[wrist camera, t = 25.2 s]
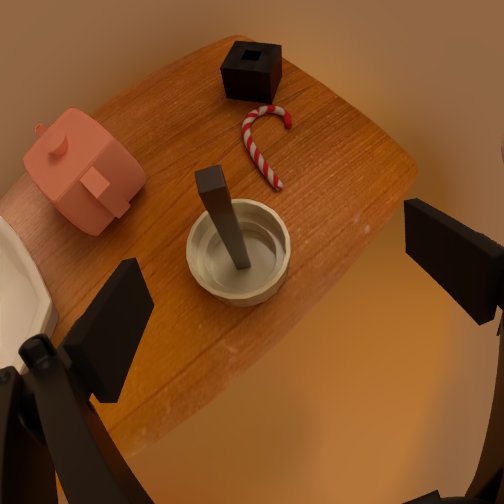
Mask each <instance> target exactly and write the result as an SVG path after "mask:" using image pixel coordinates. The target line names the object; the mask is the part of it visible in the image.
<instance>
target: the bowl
mask: <svg viewBox="0 0 504 504" xmlns="http://www.w3.org/2000/svg"><path fill="white" fill-rule="evenodd" d="M58 318H59V315H58V313H57V310H56V308H55V306H54V304H53V302H52V299H51V296H50V294H49V292H48V290H47V287H46V285H45V283H44V280H43V278H42V276H41V273H40V271H39V268H38V267H37V265H36V263H35V262H34V260H33V258H32V257H31V255H30V253H29V252H28V250H27V248H26V246H25V244H24V243H23V241H22V239H21V237H20V236H19V235H18V234H17V233H16V232H15V231H14V230H13V229H12V227H11V226H10V225H9V224H8V223H7V222H6V220H5V219H4V218H3V217H2V216H0V369H2V368H5V367H7V366H14V367H15V368H16V369H17V371H18V372H19V374H20V375H23V374H26V373H27V372H28V371H29V369H28V368H27V366H26V365H25V363H24V362H23V360H22V359H21V357H20V355H19V354H18V350H19V348H20V346H21V345H22V344H23V343H24V342H25V341H26V340H27V339H29V338H30V337H32V336H34V335H36V334H41V333H43V334H46V335H47V336H48V338H49V339H50V338H51V336H52V334H53V332H54V329H55V327H56V324H57V321H58Z"/></svg>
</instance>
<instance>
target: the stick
mask: <svg viewBox="0 0 504 504" xmlns="http://www.w3.org/2000/svg"><path fill="white" fill-rule="evenodd" d="M195 178H196V183H197V188H198V193H199V196H200V198H201V200H202V202H203V204H204V206H205V208H206V210H207V212H208V214H209V216H210V218H211V220H212V222H213V223H214V225H215V227H216V229H217V231H218V233H219V235H220V237H221V239H222V241H223V243H224V245H225V247H226V249H227V251H228V253H229V255H230V257H231V259H232V261H233V263H234V265H235V267H236V269H237V270H241V269H244V268H248V267H251V262H250V258H249V254H248V251H247V248H246V245H245V241H244V238H243V235H242V232H241V229H240V225H239V222H238V219H237V216H236V213H235V209H234V206H233V203H232V200H231V197H230V193H229V190H228V187H227V184H226V181H225V177H224V174H223V171H222V168H221V165H216V166H212V167H209V168H205V169H202V170H198V171H195Z"/></svg>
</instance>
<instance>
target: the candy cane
mask: <svg viewBox="0 0 504 504" xmlns="http://www.w3.org/2000/svg"><path fill="white" fill-rule="evenodd" d="M267 113H275V114H278V115H280V116H282V117H283V118H284V120H285V126H286V127H287V128H291V127H292V119H291V116H290V114H289V113H288V112H287V111H286V110H284V109H283V108H280V107H277V106H273V105H267V106H262V107H259V108H256V109H254V110H253V111H251V112H250V113H249V114H248V115H247V116H246V117H245V119H244V121H243V124H242V136H243V140H244V143H245V146H246V148H247V150H248V152H249V153H250V155H251V157H252V158H253V160H254V162H255V163H256V165H257V166H258V168H259V169H260V170H261V172H262V173H263V175H264V176H265V177H266V178H267V180H268V181H269V182H270V184H271V185H272V186H273V187H274V188H275V189H276V190H281V189H282V188H283V183H282V182H281V181H280V179H279V178H278V177H277V176H276V174H275V173H274V172H273V171H272V169H271V168H270V167H269V165H268V164H267V163H266V161H265V160H264V158H263V157H262V155H261V154H260V152H259V151H258V149H257V147H256V146H255V144H254V142H253V140H252V137H251V133H250V127H251V123H252V122H253V120H254V119H255V118H257V117H258V116H260V115H263V114H267Z"/></svg>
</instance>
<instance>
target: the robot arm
mask: <svg viewBox="0 0 504 504" xmlns="http://www.w3.org/2000/svg"><path fill="white" fill-rule="evenodd" d="M404 212H405V242H406V253H407V254H408V255H409V256H410V257H411V258H413V260H414V261H416V262H417V263H418V264H419V265H420V266H421V267H422V268H423V269H424V270H425V271H426V272H427V273H428V274H429V275H430V276H431V277H432V278H433V279H434V280H435V281H437V283H438V284H440V285H441V286H442V287H443V288H444V289H445V290H446V291H447V292H448V293H449V294H450V295H451V296H452V298H454V300H455V301H456V302H457V303H458V304H459V305H461V307H462V308H463V309H464V310H465V311H466V312H467V313H468V314H469V315H470V316H471V317H472V318H473V319H474V320H475V322H476V323H477V324H478V325H482V324H484V323H487V322H489V321H491V320H493V319H494V317H495V312H496V308H497V305H498V306H499V307H500V308H501V309H502V310H503V313H502V316H501V320H500V324H499V328H498V332H497V336H499V334H500V345H499V357H498V368H497V377H496V384H495V391H494V397H493V403H492V409H491V414H490V419H489V424H488V429H487V433H486V438H485V442H484V446H483V450H482V453H481V457H480V461H479V464H478V468H477V471H476V474H475V476H474V479H473V481H472V483H471V485H470V487H469V488H468V490H467V492H466V494H465V496H464V497H446V498H440V495H439V492H438V490H435V491H433V492H431V493H428V494H426V495H424V496H421V497H418V498H416V499H413V500H411V501H408V502H405V503H403V504H504V247H503V246H501V245H499V244H497V243H496V242H495V241H493V240H491V239H490V238H489V237H487V236H485V235H484V234H481V233H479V232H475V231H474V230H472V229H470V228H469V227H467V226H465V225H464V224H462V223H460V222H459V221H457V220H455V219H454V218H452V217H450V216H448V215H447V214H445V213H443V212H441V211H439V210H437V209H436V208H434V207H432V206H430V205H429V204H427V203H425V202H423V201H421V200H419V199H417V198H416V199H410V200H405V201H404ZM153 308H154V303H153V301H152V298H151V296H150V293H149V291H148V288H147V286H146V283H145V281H144V278H143V276H142V273H141V270H140V268H139V265H138V262H137V260H136V257H135V258H131V259H127V260H122V261H121V263H120V264H119V265H118V267H117V268H116V269H115V271H114V272H113V273H112V275H111V276H110V277H109V279H108V280H107V281H106V283H105V284H104V286H103V287H102V288H101V290H100V291H99V292H98V294H97V295H96V297H95V298H94V299H93V301H92V302H91V304H90V305H89V307H88V308H87V309H86V311H85V312H84V314H83V315H82V316H81V317H80V318H79V319H78V320H76V321H75V323H74V324H73V326H72V327H71V330H69V332H68V333H67V336H65V338H64V339H63V341H62V342H61V344H60V345H59V347H58V348H57V350H55V348H54V346H53V345H52V343H51V341H50V340H49V338H48V336H47V335H46V334H43V333H41V334H36V335H34V336H32V337H30V338H29V339H27V340H26V341H25V342H24V343H23V344H22V345H21V346H20V348H19V350H18V354H19V355H20V357H21V359H22V360H23V362H24V363H25V365H26V366H27V368H28V369H29V371H30V373H26V374H23V375H20V374H19V372H18V371H17V369H16V368H15V367H14V366H7V367H5V368H2V369H0V504H58V496H57V487H56V477H55V470H56V473H57V475H58V478H59V481H60V483H61V486H62V489H63V491H64V493H65V496H66V498H67V501H68V503H69V504H154V502H153V501H152V500H151V498H150V497H149V496H148V494H147V493H146V491H145V490H144V489H143V487H142V486H141V484H140V483H139V481H138V480H137V478H136V477H135V475H134V474H133V473H132V471H131V469H130V468H129V467H128V465H127V463H126V462H125V460H124V459H123V457H122V455H121V454H120V452H119V451H118V449H117V447H116V446H115V444H114V442H113V440H112V439H111V437H110V435H109V434H108V432H107V430H106V428H105V426H104V425H103V423H102V421H101V419H100V417H99V415H98V413H97V412H96V410H95V408H94V406H93V405H92V403H91V402H90V401H89V398H90V396H91V394H92V393H93V394H94V395H95V397H96V398H97V400H98V401H99V402H100V403H117V401H118V399H119V396H120V393H121V390H122V387H123V385H124V382H125V379H126V376H127V374H128V371H129V368H130V366H131V363H132V361H133V358H134V355H135V353H136V350H137V348H138V345H139V342H140V340H141V337H142V335H143V332H144V330H145V327H146V325H147V322H148V320H149V318H150V315H151V313H152V310H153Z"/></svg>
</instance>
